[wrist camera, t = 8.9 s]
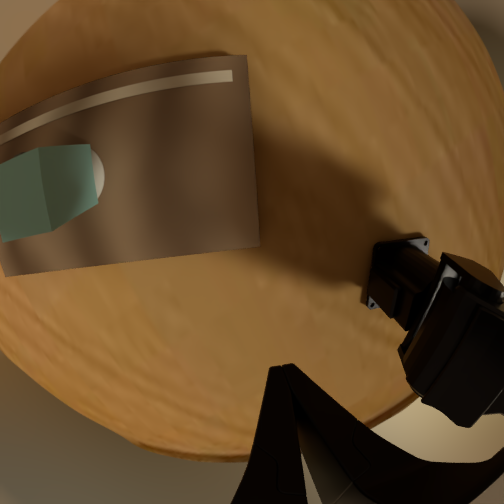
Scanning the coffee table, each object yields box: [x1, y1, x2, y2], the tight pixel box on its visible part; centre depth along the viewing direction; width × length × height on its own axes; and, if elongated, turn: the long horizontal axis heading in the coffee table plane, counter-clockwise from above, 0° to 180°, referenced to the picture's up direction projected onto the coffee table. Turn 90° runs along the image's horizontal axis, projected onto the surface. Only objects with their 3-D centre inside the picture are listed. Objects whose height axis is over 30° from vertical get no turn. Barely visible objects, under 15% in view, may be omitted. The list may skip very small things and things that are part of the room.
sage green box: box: [0, 144, 98, 243], centre depth 12 cm, size 4×4×6 cm
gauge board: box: [0, 55, 260, 277], centre depth 14 cm, size 24×13×5 cm, turn 93°
